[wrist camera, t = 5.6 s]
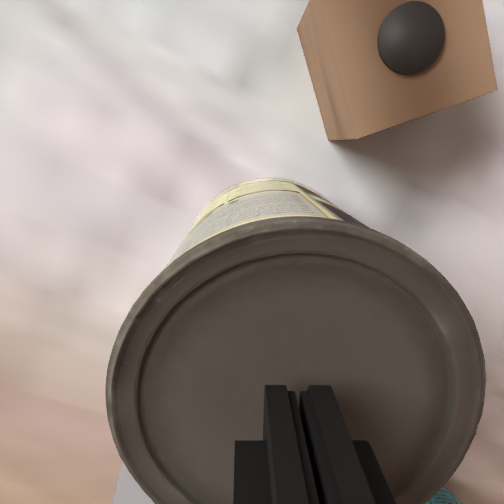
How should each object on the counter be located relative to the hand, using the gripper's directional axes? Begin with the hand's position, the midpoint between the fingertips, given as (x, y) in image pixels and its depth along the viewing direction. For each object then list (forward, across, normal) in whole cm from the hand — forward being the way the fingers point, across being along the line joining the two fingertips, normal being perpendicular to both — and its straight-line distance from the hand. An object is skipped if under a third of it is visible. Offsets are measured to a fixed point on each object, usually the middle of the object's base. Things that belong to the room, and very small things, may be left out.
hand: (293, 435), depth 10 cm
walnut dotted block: (+15, -5, -11) cm, 19 cm away
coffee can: (+15, 0, 0) cm, 15 cm away
